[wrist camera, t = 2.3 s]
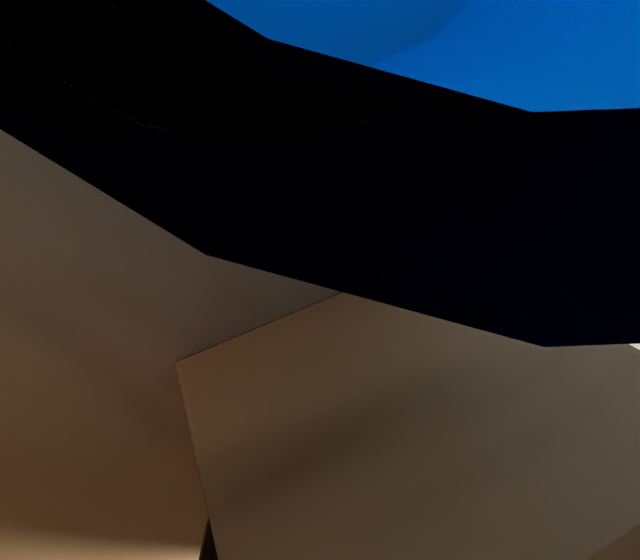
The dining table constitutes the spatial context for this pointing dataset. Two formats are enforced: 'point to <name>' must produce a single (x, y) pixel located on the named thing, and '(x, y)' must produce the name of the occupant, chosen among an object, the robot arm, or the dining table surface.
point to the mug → (397, 156)
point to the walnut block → (413, 441)
